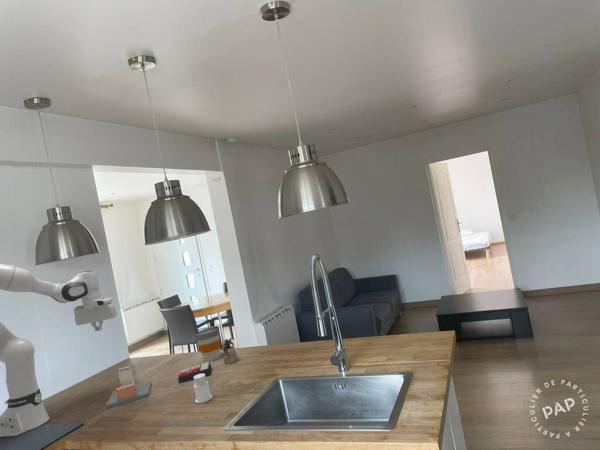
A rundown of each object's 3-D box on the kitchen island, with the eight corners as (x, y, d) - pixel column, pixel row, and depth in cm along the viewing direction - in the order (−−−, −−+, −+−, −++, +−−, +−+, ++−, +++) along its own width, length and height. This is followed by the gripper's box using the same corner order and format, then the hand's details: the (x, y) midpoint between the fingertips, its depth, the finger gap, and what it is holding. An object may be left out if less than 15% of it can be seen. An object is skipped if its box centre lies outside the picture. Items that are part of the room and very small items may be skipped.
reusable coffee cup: (213, 362, 231) (207, 334, 231) (196, 362, 238) (190, 335, 238) (228, 353, 242) (222, 327, 242) (212, 354, 249) (206, 328, 249)
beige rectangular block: (123, 395, 204) (117, 370, 203) (124, 392, 208) (119, 368, 207) (134, 391, 205) (129, 367, 205) (135, 389, 209) (130, 365, 209)
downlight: (191, 400, 182) (187, 377, 182) (206, 393, 186) (202, 371, 186) (200, 405, 176) (196, 381, 175) (216, 398, 180) (211, 374, 180)
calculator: (179, 369, 220) (209, 360, 222) (182, 378, 220) (211, 368, 222) (177, 376, 209) (208, 367, 211) (179, 385, 209) (210, 375, 211)
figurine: (226, 360, 229) (221, 338, 229) (239, 358, 229) (234, 335, 229) (223, 365, 222) (218, 342, 222) (236, 362, 222) (231, 339, 222)
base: (106, 408, 195) (103, 394, 195) (113, 395, 213) (110, 382, 213) (148, 396, 200) (145, 382, 200) (151, 384, 217) (148, 371, 217)
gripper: (69, 308, 216) (75, 336, 216) (108, 300, 214) (114, 328, 214) (77, 305, 222) (83, 332, 222) (115, 297, 220) (121, 324, 220)
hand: (98, 330), depth 218 cm, fingers closed
